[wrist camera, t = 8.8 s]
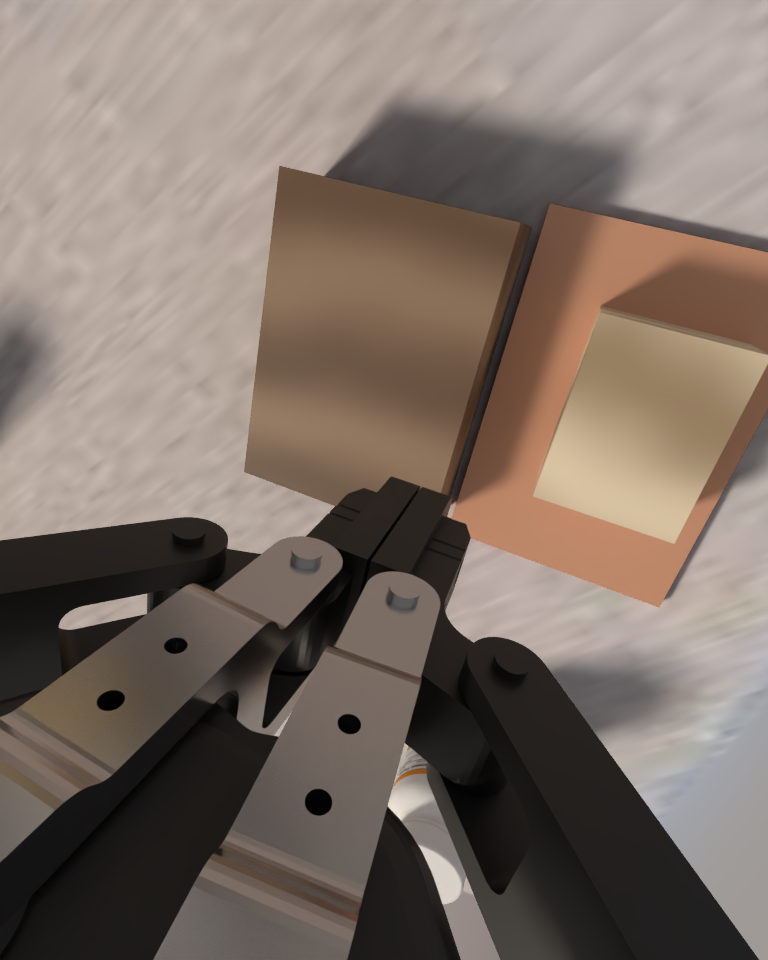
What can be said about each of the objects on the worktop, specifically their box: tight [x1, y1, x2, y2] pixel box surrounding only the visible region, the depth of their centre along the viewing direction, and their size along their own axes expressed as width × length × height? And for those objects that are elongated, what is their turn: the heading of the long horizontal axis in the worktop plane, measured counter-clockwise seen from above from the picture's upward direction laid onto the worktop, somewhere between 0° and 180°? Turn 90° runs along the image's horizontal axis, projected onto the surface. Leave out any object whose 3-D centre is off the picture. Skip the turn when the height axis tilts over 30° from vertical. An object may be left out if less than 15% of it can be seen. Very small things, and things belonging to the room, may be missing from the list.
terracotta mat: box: [452, 204, 768, 607], centre depth 25 cm, size 16×11×1 cm
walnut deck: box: [244, 166, 531, 506], centre depth 26 cm, size 14×10×4 cm
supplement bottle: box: [388, 747, 466, 904], centre depth 31 cm, size 5×5×10 cm
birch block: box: [533, 306, 768, 544], centre depth 23 cm, size 8×6×3 cm
